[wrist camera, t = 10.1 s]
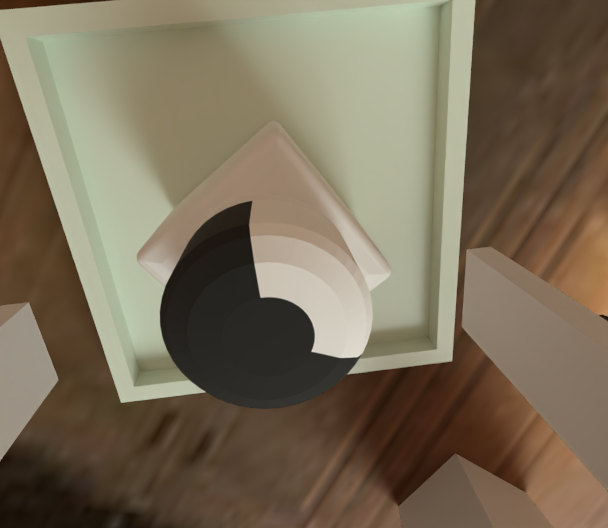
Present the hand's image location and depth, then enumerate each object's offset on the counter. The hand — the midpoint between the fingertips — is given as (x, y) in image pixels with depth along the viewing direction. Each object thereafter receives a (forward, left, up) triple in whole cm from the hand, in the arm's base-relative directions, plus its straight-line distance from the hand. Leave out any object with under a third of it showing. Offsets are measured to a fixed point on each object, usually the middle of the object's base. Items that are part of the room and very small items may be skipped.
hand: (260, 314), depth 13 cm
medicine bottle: (0, 0, -11) cm, 11 cm away
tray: (0, 0, -11) cm, 11 cm away
